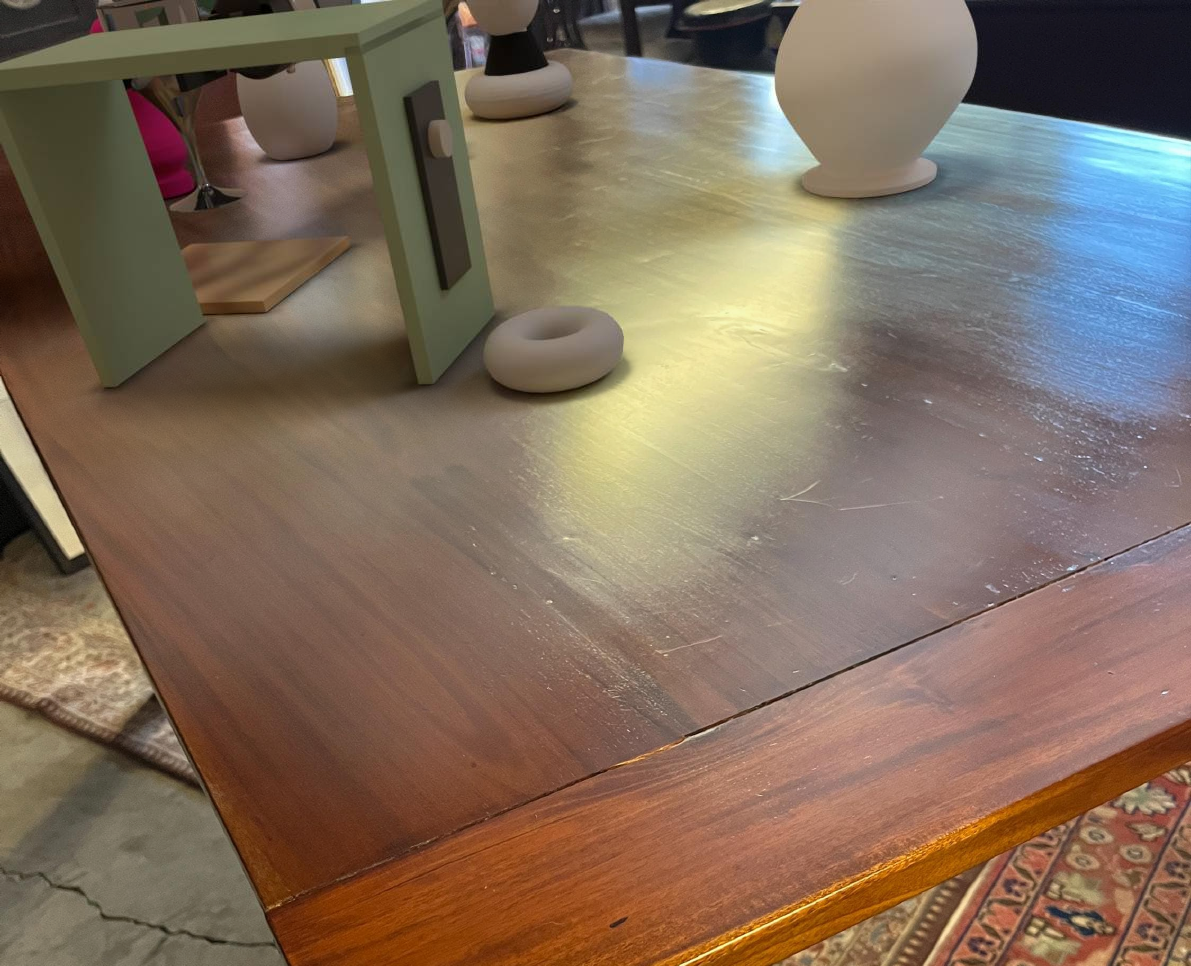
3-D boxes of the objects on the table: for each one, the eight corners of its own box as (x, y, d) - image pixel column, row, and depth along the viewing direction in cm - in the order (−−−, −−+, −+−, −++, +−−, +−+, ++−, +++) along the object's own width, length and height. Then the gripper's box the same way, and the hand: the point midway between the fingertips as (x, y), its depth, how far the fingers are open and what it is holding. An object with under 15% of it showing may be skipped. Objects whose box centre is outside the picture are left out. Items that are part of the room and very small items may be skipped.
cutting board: (94, 317, 101) (89, 306, 100) (194, 254, 113) (191, 243, 113) (266, 312, 96) (262, 300, 95) (350, 246, 109) (348, 236, 108)
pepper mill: (175, 200, 133) (107, -1, 120) (128, 201, 135) (57, 5, 122) (210, 183, 138) (149, -12, 124) (164, 185, 140) (99, -6, 127)
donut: (469, 371, 81) (517, 413, 73) (460, 323, 78) (508, 361, 71) (592, 337, 83) (650, 374, 76) (587, 289, 81) (646, 322, 73)
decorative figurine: (586, 93, 153) (567, -89, 140) (560, 118, 143) (537, -76, 130) (486, 102, 157) (458, -75, 144) (453, 126, 147) (421, -61, 133)
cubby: (103, 387, 87) (-30, 72, 72) (193, 322, 96) (92, 33, 82) (452, 384, 79) (380, 29, 64) (512, 313, 88) (461, -8, 74)
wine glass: (255, 183, 103) (198, -13, 93) (249, 203, 97) (187, -3, 87) (170, 197, 103) (104, 2, 93) (159, 219, 97) (87, 13, 87)
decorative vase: (812, 218, 98) (818, -148, 81) (751, 174, 111) (746, -147, 95) (999, 183, 99) (1043, -183, 83) (917, 144, 113) (941, -178, 96)
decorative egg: (359, 137, 149) (329, 2, 139) (327, 160, 140) (293, 18, 130) (276, 144, 151) (241, 13, 141) (240, 168, 143) (200, 29, 133)
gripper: (371, 63, 105) (259, 120, 89) (186, 81, 111) (50, 137, 95) (350, -34, 100) (228, 8, 84) (158, -10, 106) (9, 33, 90)
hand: (134, 76), depth 89 cm, fingers closed on wine glass, 8 cm apart
